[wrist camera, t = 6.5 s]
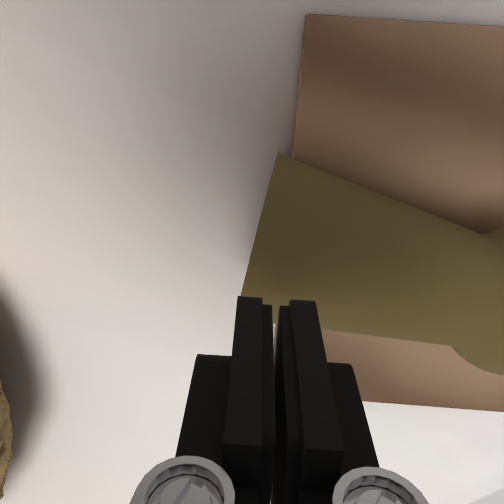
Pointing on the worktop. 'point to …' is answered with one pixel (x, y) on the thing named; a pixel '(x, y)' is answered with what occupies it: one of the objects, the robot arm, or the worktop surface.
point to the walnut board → (408, 165)
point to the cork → (378, 265)
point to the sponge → (4, 438)
